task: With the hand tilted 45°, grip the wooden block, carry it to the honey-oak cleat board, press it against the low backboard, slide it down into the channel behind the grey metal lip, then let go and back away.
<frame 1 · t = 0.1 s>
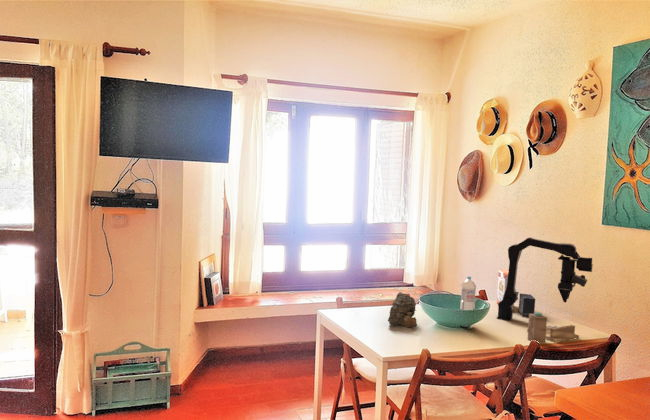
hand: (566, 300, 227), 15 cm above the table, tool pointing down, fingers open, 9 cm apart
rock: (402, 325, 226), on the table
cleat board: (554, 336, 216), on the table
small box: (526, 314, 252), on the table
water bottle: (466, 327, 226), on the table
cracker box: (504, 307, 266), on the table
wooden block: (536, 341, 208), on the table
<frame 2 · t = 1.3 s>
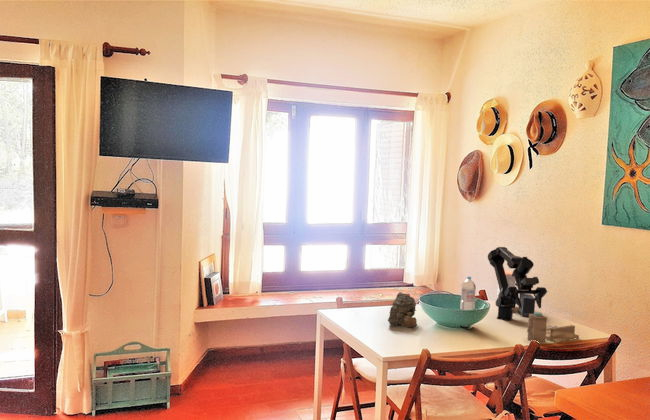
hand: (530, 307, 215), 13 cm above the table, tool tilted 45°, fingers open, 9 cm apart
nothing on the table moved.
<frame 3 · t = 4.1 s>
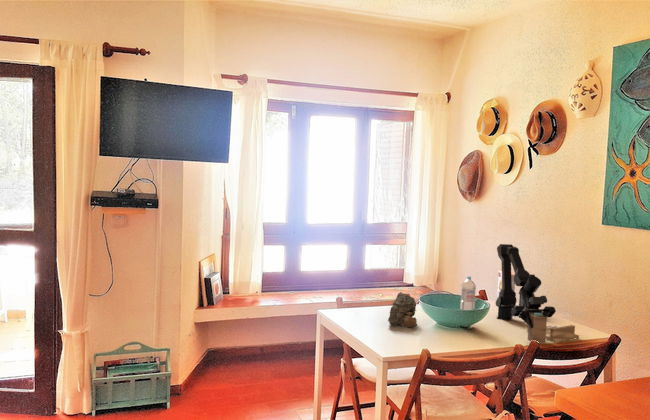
hand: (538, 328, 206), 7 cm above the table, tool tilted 45°, fingers closed on wooden block, 5 cm apart
wooden block: (536, 341, 208), on the table, touching gripper
everything else where it was.
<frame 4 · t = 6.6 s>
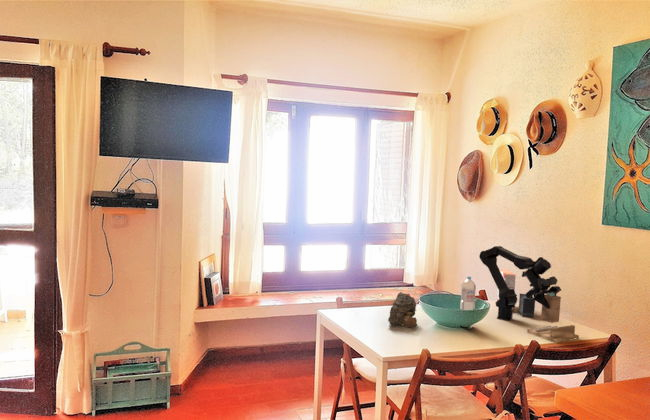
hand: (553, 307, 217), 13 cm above the table, tool tilted 45°, fingers closed on wooden block, 5 cm apart
wooden block: (549, 320, 218), point 7 cm above the table, touching gripper
everything else where it was.
when the fingers open (9 cm above the table, at t = 9.0 s): wooden block stays where it is, resting on cleat board.
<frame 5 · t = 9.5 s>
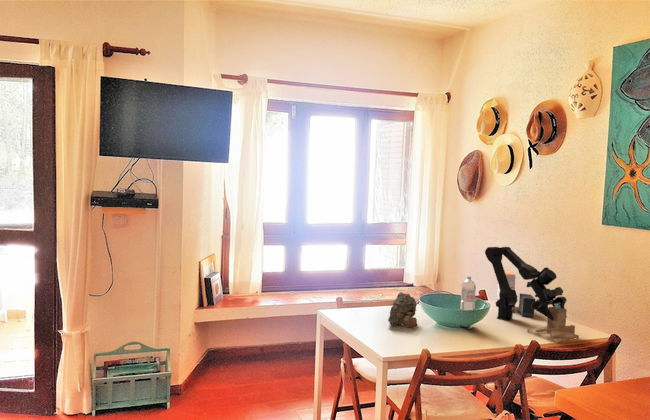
hand: (559, 318, 214), 9 cm above the table, tool tilted 45°, fingers open, 9 cm apart
wooden block: (555, 333, 216), point 1 cm above the table, touching cleat board
everything else where it was.
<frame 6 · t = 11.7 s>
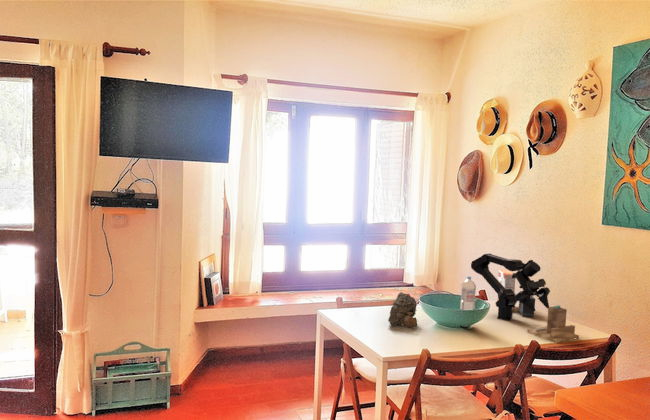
hand: (541, 309, 223), 11 cm above the table, tool tilted 40°, fingers open, 9 cm apart
nothing on the table moved.
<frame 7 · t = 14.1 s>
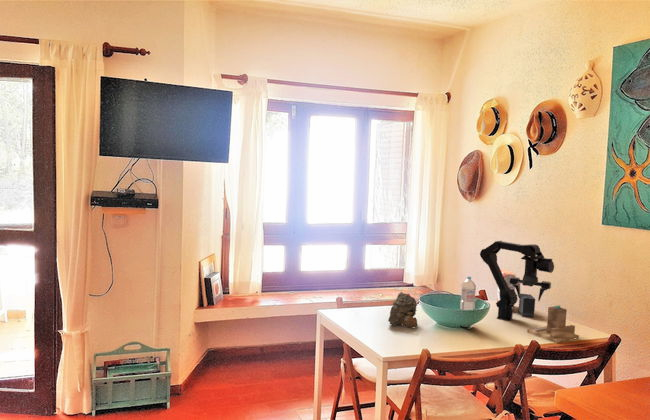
hand: (529, 299, 232), 13 cm above the table, tool pointing down, fingers open, 9 cm apart
nothing on the table moved.
at the end: wooden block 0.3 cm off-centre on the cleat board, point 1.5 cm above the cleat board's base; wooden block tilted 0°; the gripper is holding nothing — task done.
